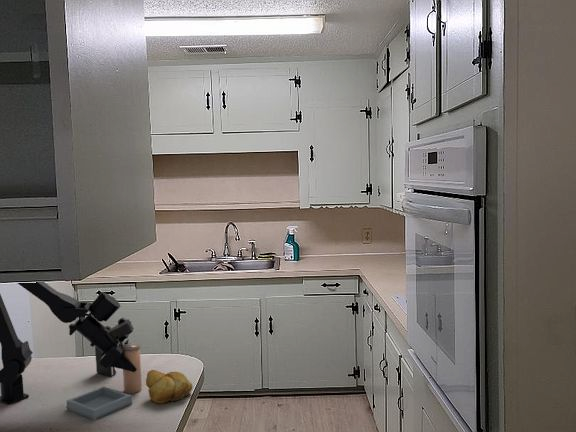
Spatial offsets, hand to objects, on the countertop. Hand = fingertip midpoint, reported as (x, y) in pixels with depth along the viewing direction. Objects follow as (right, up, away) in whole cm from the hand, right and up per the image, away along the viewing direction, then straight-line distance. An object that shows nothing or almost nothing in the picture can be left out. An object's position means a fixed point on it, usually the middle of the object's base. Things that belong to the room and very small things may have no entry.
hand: (136, 367), depth 170 cm
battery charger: (-13, -6, +15) cm, 21 cm away
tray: (-7, -8, -11) cm, 16 cm away
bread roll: (+11, -7, -6) cm, 15 cm away
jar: (-1, -7, 0) cm, 7 cm away
